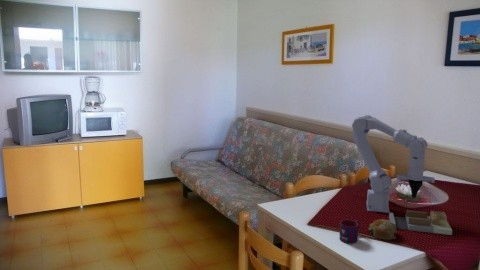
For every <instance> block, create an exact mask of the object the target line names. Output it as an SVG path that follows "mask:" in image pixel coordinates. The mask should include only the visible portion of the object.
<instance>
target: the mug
mask: <svg viewBox="0 0 480 270" xmlns="http://www.w3.org/2000/svg"><path fill="white" fill-rule="evenodd" d="M359 230H360V221H359V220H357V219H356V220H354V219H353V220H352V219H342V220H341V221H339V240H340V242H342V243H345V244H351V245H353V244H356V243H358V241H359V240H358V239H359Z"/></svg>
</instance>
